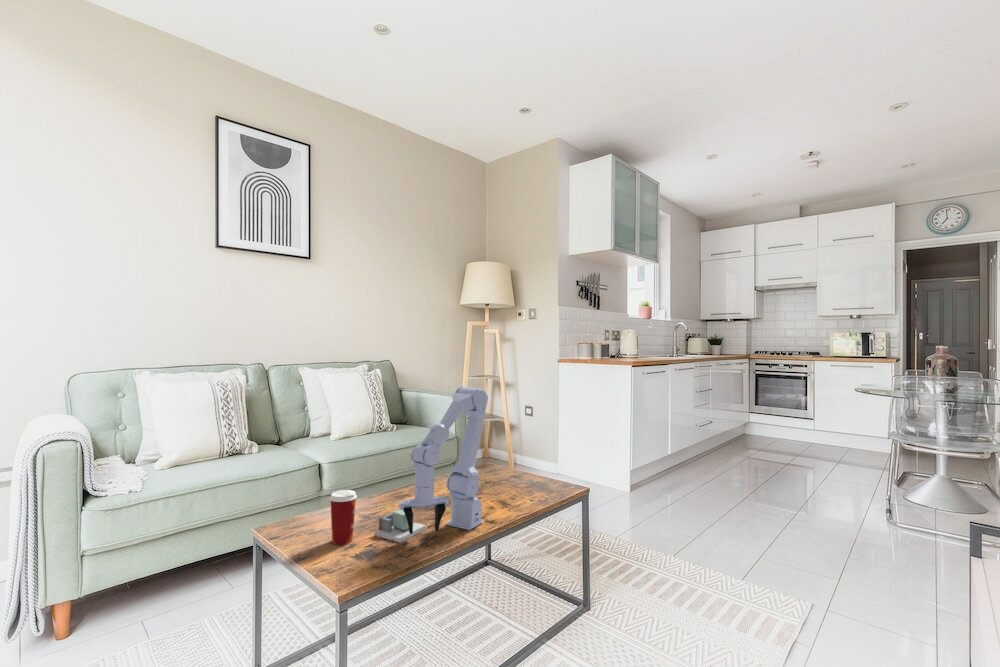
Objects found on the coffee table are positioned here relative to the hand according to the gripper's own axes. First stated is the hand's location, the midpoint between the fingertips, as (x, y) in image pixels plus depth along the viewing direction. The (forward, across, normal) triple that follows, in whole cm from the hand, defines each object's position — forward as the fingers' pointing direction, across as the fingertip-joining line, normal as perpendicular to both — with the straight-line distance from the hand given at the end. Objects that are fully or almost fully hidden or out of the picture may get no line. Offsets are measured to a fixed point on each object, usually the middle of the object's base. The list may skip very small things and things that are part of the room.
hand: (423, 531), depth 142 cm
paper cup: (+2, +23, -5) cm, 24 cm away
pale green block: (+1, +5, -7) cm, 9 cm away
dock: (+2, +6, -7) cm, 9 cm away
